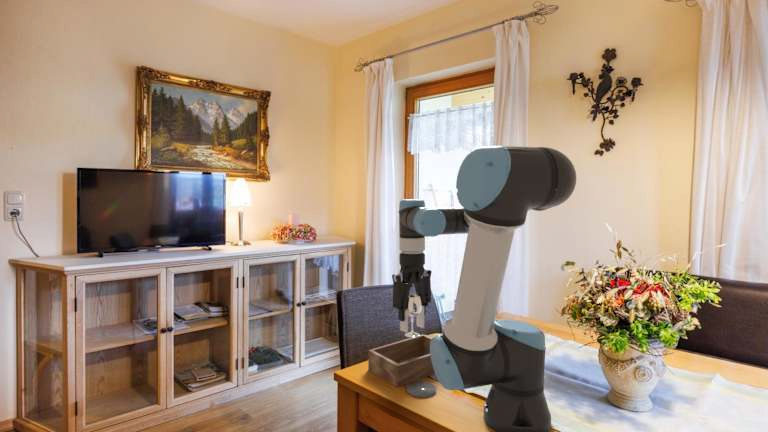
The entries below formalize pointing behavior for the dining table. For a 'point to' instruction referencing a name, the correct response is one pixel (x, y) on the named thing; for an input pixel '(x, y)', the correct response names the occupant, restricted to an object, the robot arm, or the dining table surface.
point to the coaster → (421, 389)
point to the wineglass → (413, 311)
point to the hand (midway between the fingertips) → (412, 328)
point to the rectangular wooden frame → (406, 372)
